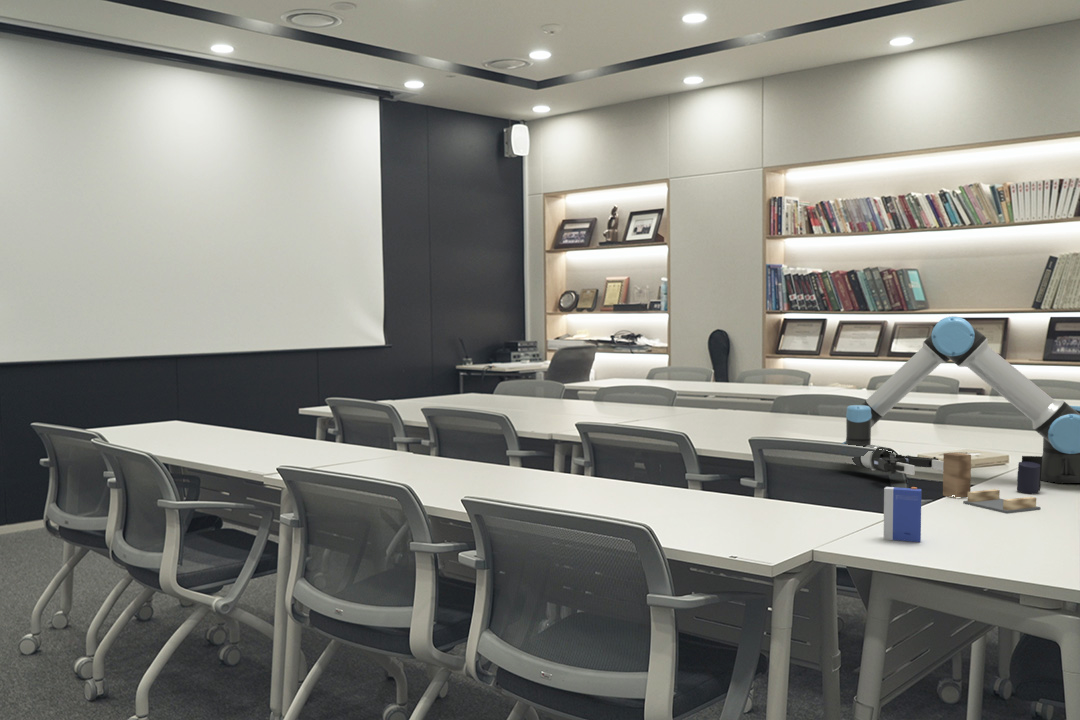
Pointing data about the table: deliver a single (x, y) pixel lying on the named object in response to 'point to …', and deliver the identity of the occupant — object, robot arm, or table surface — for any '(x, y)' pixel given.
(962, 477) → the brown wooden block
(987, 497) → the end caps
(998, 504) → the mat
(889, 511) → the walkman
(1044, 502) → the table surface
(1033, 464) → the speaker
